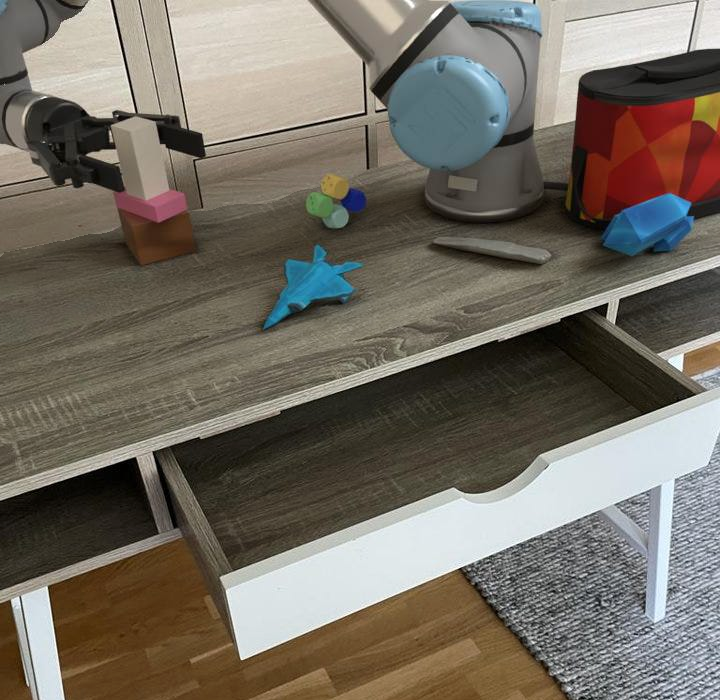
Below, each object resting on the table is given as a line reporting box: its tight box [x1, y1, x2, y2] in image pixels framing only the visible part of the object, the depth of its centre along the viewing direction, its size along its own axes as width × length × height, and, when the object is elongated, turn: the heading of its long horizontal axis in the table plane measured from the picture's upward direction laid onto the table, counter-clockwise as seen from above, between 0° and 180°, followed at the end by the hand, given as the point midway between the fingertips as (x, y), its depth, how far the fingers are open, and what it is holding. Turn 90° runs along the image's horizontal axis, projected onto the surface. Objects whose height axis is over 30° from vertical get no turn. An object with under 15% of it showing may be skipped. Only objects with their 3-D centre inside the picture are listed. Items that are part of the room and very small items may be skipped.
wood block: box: [116, 207, 197, 266], centre depth 105 cm, size 7×7×5 cm
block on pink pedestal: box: [111, 116, 188, 223], centre depth 101 cm, size 8×4×10 cm, turn 49°
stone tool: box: [432, 236, 552, 265], centre depth 101 cm, size 14×1×5 cm
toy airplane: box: [262, 243, 365, 330], centre depth 93 cm, size 12×10×4 cm
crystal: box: [600, 193, 694, 257], centre depth 97 cm, size 7×9×12 cm
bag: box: [564, 48, 720, 230], centre depth 104 cm, size 30×14×16 cm, turn 114°
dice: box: [305, 173, 367, 230], centre depth 107 cm, size 8×3×6 cm, turn 127°
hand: (162, 162), depth 98 cm, fingers open, 11 cm apart
